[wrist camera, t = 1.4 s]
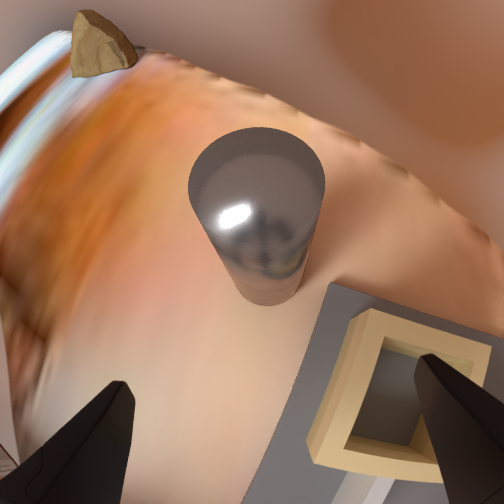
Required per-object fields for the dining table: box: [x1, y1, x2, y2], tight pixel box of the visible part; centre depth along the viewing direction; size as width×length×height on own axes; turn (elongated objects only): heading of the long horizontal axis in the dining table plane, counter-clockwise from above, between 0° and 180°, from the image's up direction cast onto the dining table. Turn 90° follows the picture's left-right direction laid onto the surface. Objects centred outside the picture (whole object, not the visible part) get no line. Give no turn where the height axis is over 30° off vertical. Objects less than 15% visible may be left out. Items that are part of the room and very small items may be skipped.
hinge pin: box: [188, 127, 325, 306], centre depth 17 cm, size 5×5×12 cm
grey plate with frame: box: [241, 282, 504, 504], centre depth 15 cm, size 19×19×6 cm
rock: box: [70, 10, 138, 78], centre depth 31 cm, size 11×9×10 cm
